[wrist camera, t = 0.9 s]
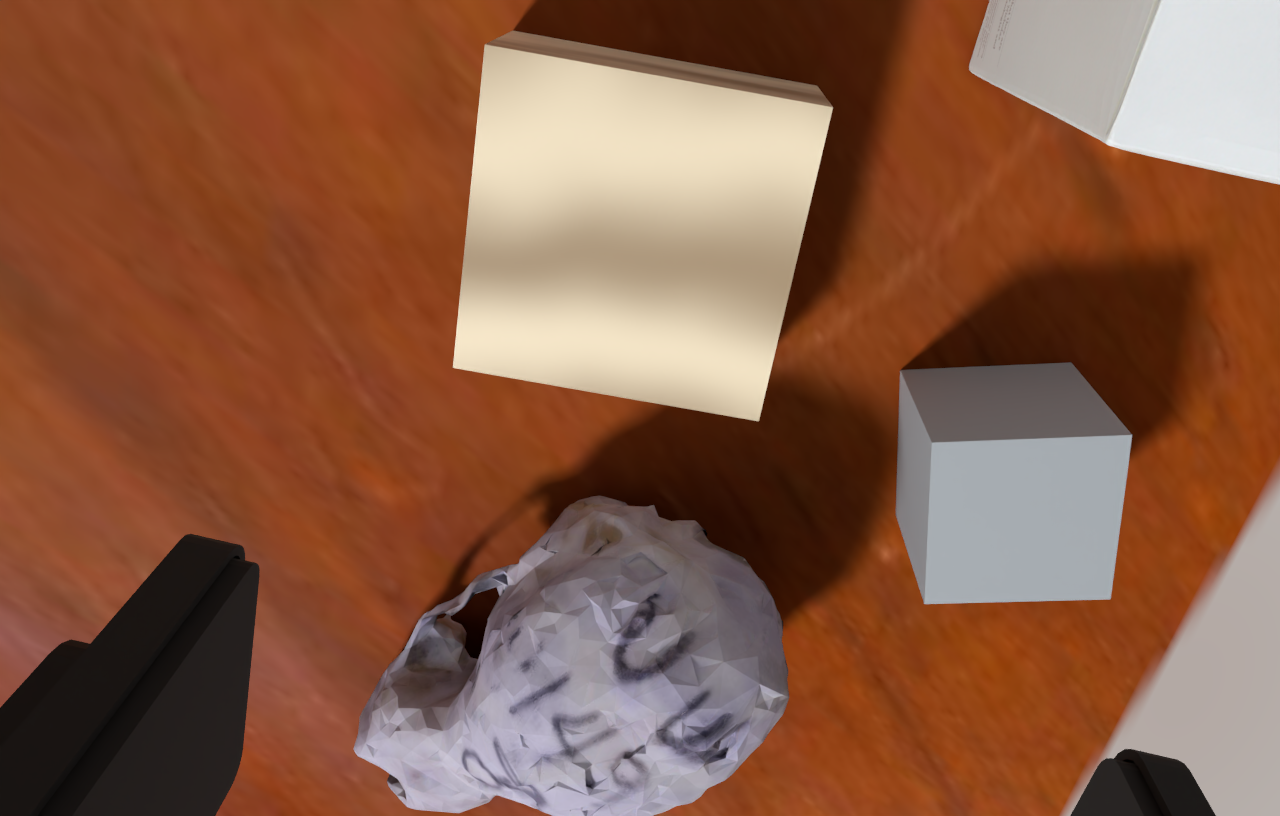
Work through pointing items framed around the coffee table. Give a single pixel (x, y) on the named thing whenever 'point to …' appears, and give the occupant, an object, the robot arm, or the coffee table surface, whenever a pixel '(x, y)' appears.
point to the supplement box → (1147, 74)
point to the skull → (587, 675)
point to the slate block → (1009, 483)
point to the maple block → (634, 222)
